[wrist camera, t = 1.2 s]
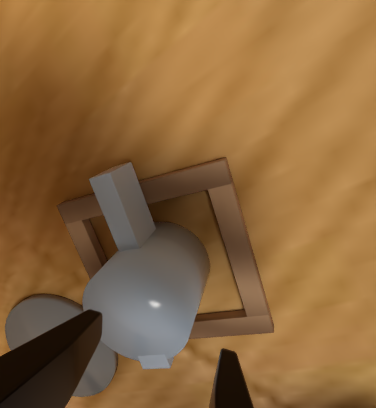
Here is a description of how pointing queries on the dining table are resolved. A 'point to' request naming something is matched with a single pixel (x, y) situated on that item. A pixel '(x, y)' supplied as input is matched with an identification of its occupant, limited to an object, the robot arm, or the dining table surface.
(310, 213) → the dining table surface
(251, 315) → the frame
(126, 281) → the jug
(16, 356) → the robot arm
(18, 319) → the disc
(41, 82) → the dining table surface
